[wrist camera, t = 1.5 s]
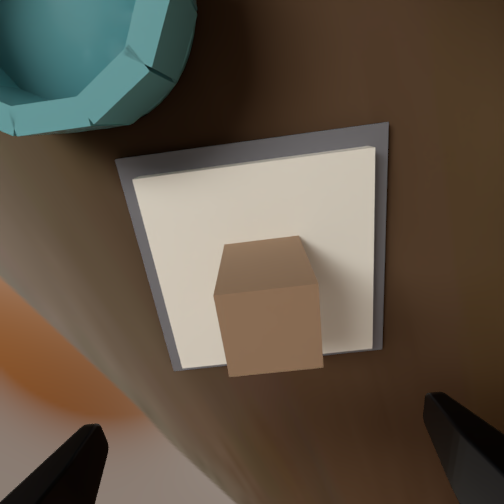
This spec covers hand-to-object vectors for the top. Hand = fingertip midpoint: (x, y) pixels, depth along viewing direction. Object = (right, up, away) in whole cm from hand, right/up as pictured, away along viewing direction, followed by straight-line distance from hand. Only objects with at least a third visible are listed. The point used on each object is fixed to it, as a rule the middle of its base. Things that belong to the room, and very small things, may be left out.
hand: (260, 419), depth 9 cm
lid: (+1, +4, +10) cm, 11 cm away
